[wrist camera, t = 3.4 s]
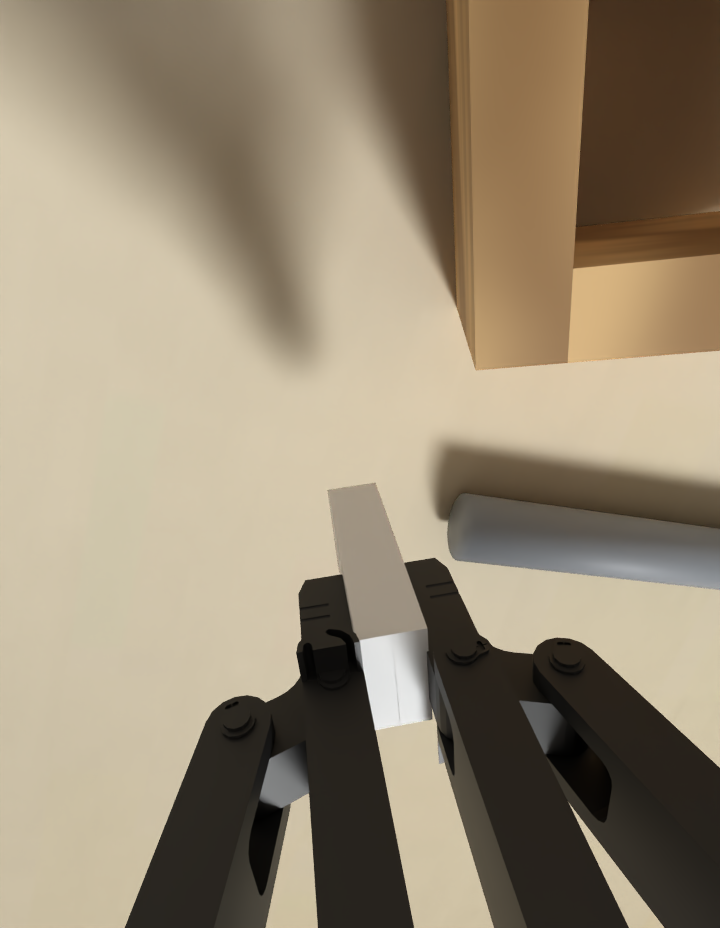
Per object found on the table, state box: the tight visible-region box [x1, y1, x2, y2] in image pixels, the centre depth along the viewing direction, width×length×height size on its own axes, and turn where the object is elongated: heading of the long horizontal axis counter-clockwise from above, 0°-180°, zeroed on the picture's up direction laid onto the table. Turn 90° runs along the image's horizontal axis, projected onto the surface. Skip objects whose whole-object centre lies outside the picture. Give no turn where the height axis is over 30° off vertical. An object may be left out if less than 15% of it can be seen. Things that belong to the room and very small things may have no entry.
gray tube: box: [447, 493, 720, 590], centre depth 25 cm, size 3×3×18 cm
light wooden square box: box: [446, 0, 720, 370], centre depth 15 cm, size 12×12×8 cm
